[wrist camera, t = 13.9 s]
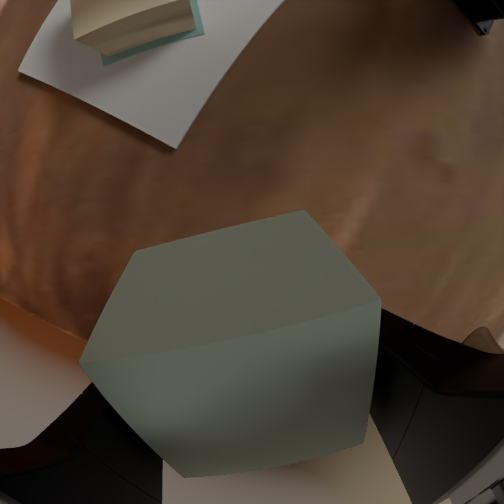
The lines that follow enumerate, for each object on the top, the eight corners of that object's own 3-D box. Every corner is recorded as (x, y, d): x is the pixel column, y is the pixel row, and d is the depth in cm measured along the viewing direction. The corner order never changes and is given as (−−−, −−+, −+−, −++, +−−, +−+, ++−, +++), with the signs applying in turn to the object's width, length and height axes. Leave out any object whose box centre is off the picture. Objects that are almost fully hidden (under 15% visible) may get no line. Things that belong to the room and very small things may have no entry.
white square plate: (133, -76, 9) (130, -81, 8) (298, -15, 13) (301, -20, 12) (23, 71, 13) (17, 70, 12) (177, 148, 17) (175, 149, 16)
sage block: (135, 251, 9) (77, 362, 4) (304, 209, 9) (381, 299, 5) (188, 368, 11) (183, 477, 7) (320, 339, 11) (363, 442, 7)
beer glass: (467, 365, 32) (517, 436, 18) (445, 361, 30) (502, 444, 17) (495, 328, 30) (554, 395, 16) (478, 319, 28) (547, 397, 14)
